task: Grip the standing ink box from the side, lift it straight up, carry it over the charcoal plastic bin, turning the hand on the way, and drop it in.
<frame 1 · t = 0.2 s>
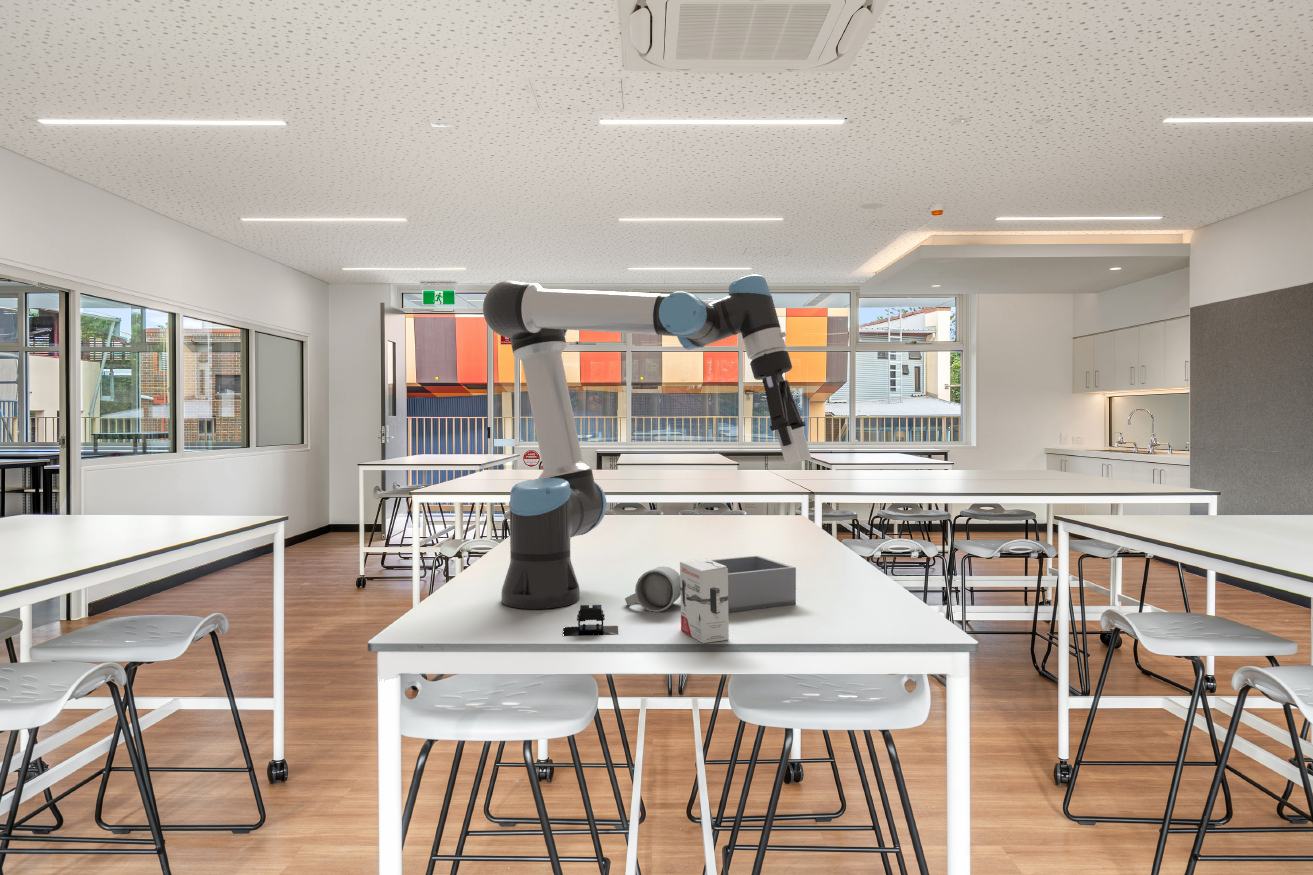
hand: (799, 461, 137), 27 cm above the table, tool tilted 15°, fingers open, 13 cm apart
ink box: (703, 636, 118), on the table
bin: (739, 600, 141), on the table
black angular piece: (590, 635, 121), on the table
ceramic mug: (653, 608, 137), on the table
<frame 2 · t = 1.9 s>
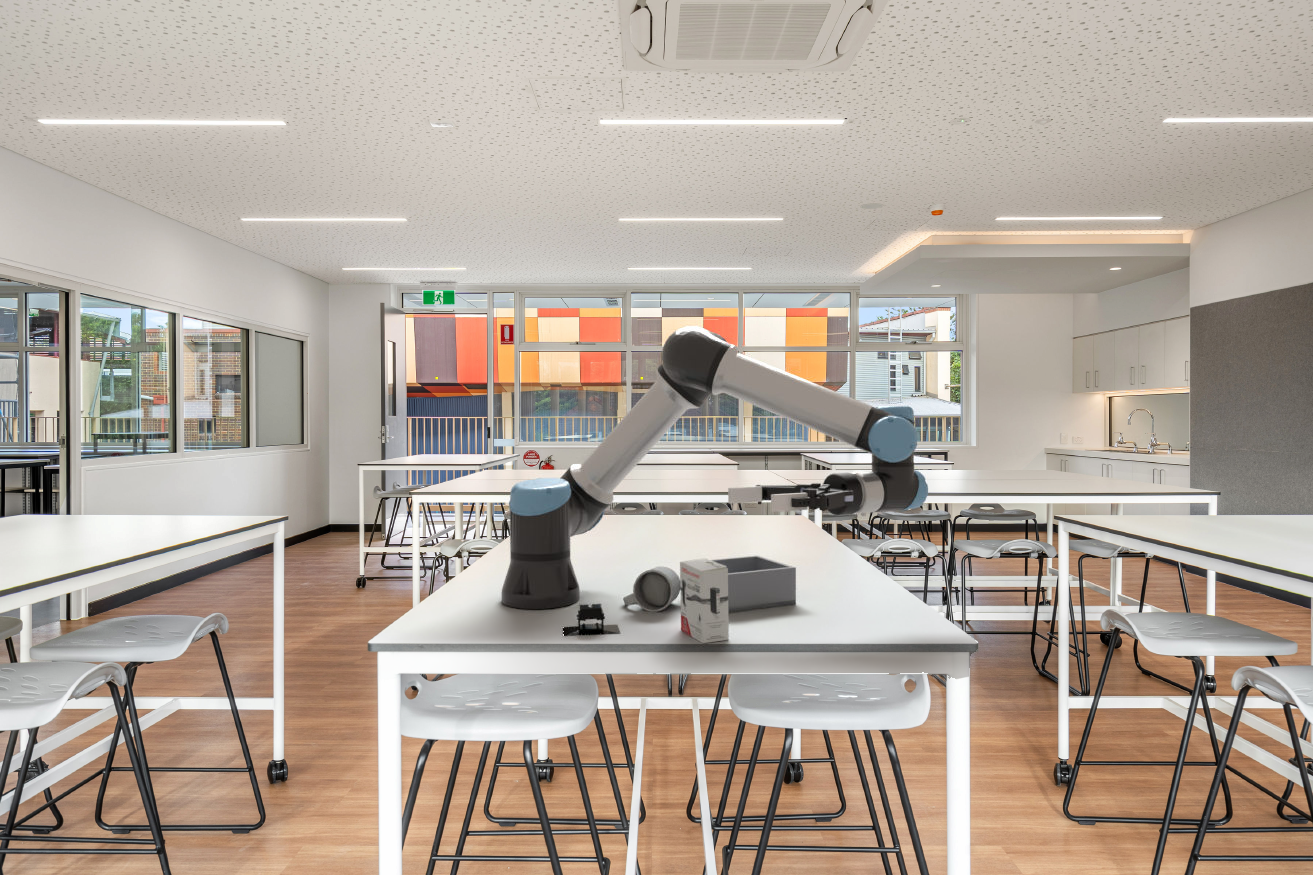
hand: (749, 499, 122), 22 cm above the table, tool horizontal, fingers open, 13 cm apart
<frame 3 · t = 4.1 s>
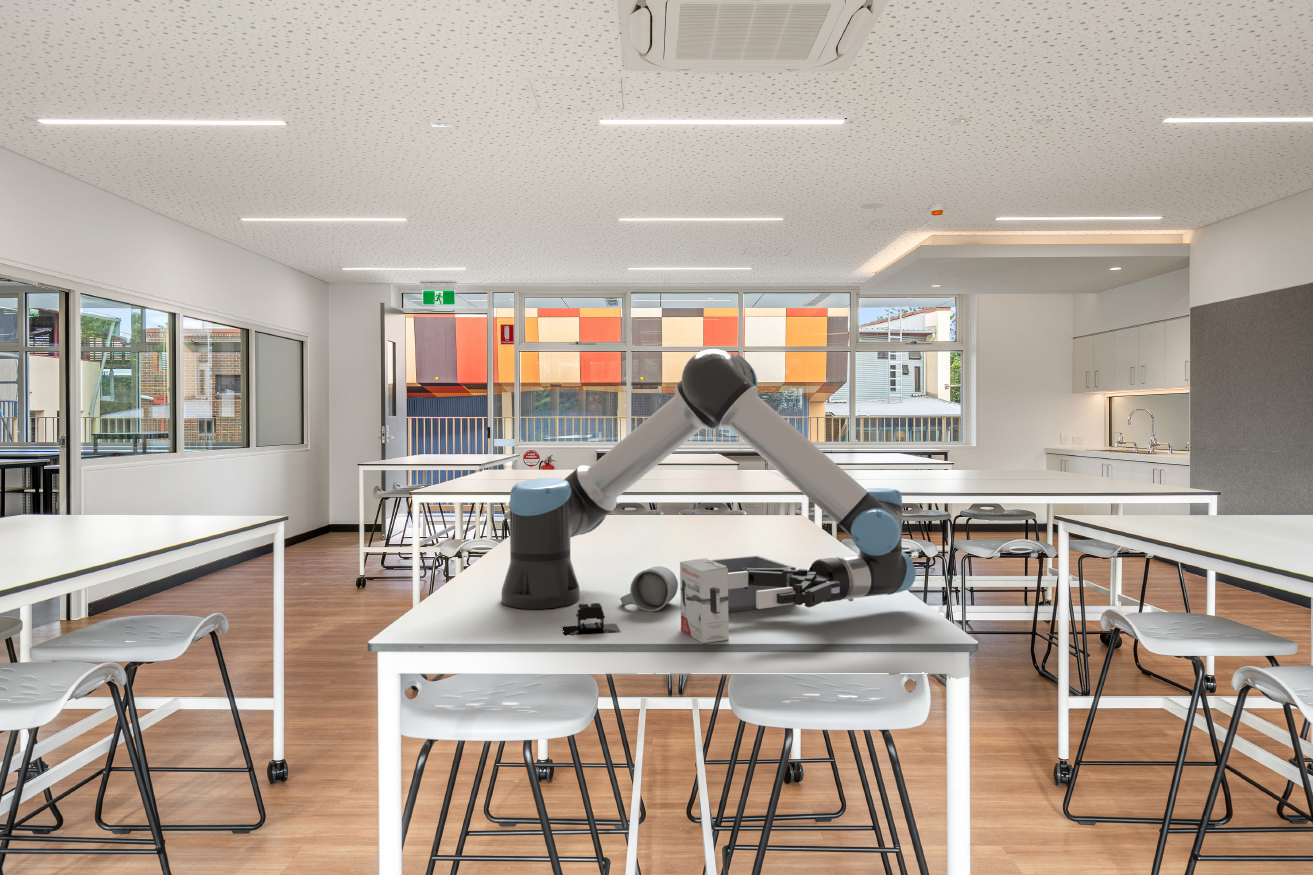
hand: (734, 590, 120), 7 cm above the table, tool horizontal, fingers open, 13 cm apart
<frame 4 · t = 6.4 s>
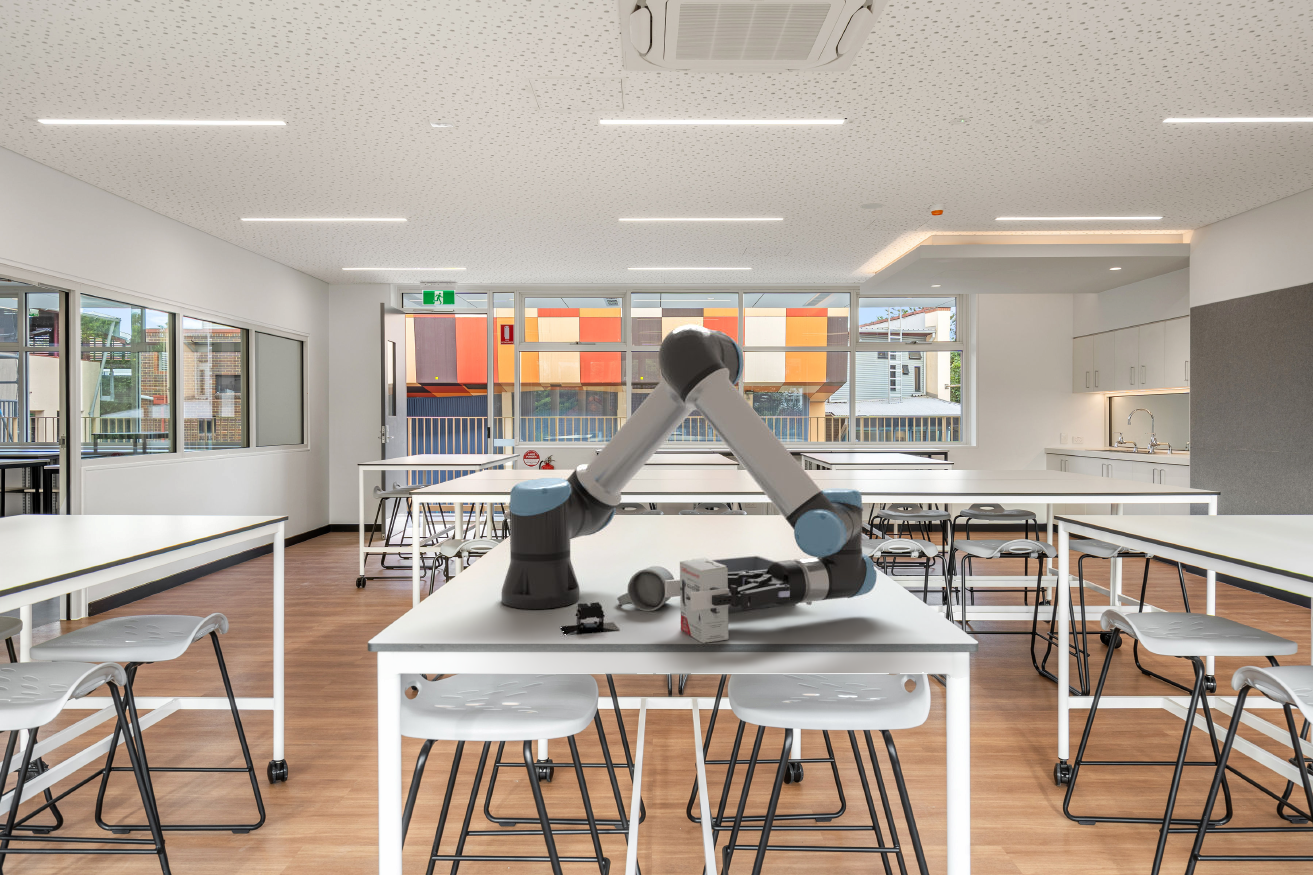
hand: (678, 594, 116), 7 cm above the table, tool horizontal, fingers closed on ink box, 9 cm apart
ink box: (703, 635, 119), on the table, touching gripper
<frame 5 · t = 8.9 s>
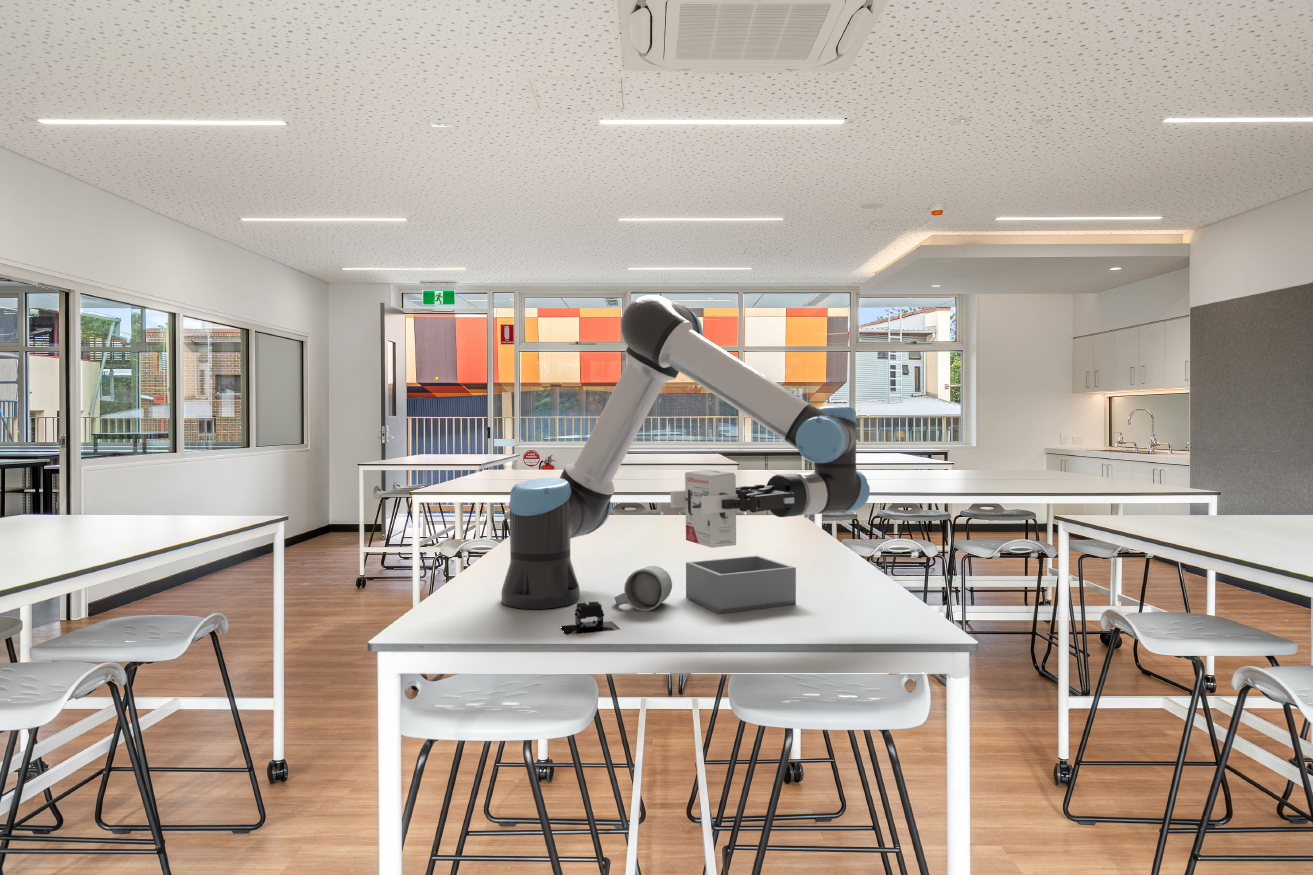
hand: (686, 502, 117), 22 cm above the table, tool horizontal, fingers closed on ink box, 9 cm apart
ink box: (710, 544, 120), point 15 cm above the table, touching gripper
when the fingers open (17 cm above the table, at t = 11.6 s): ink box drops 9 cm, resting on bin.
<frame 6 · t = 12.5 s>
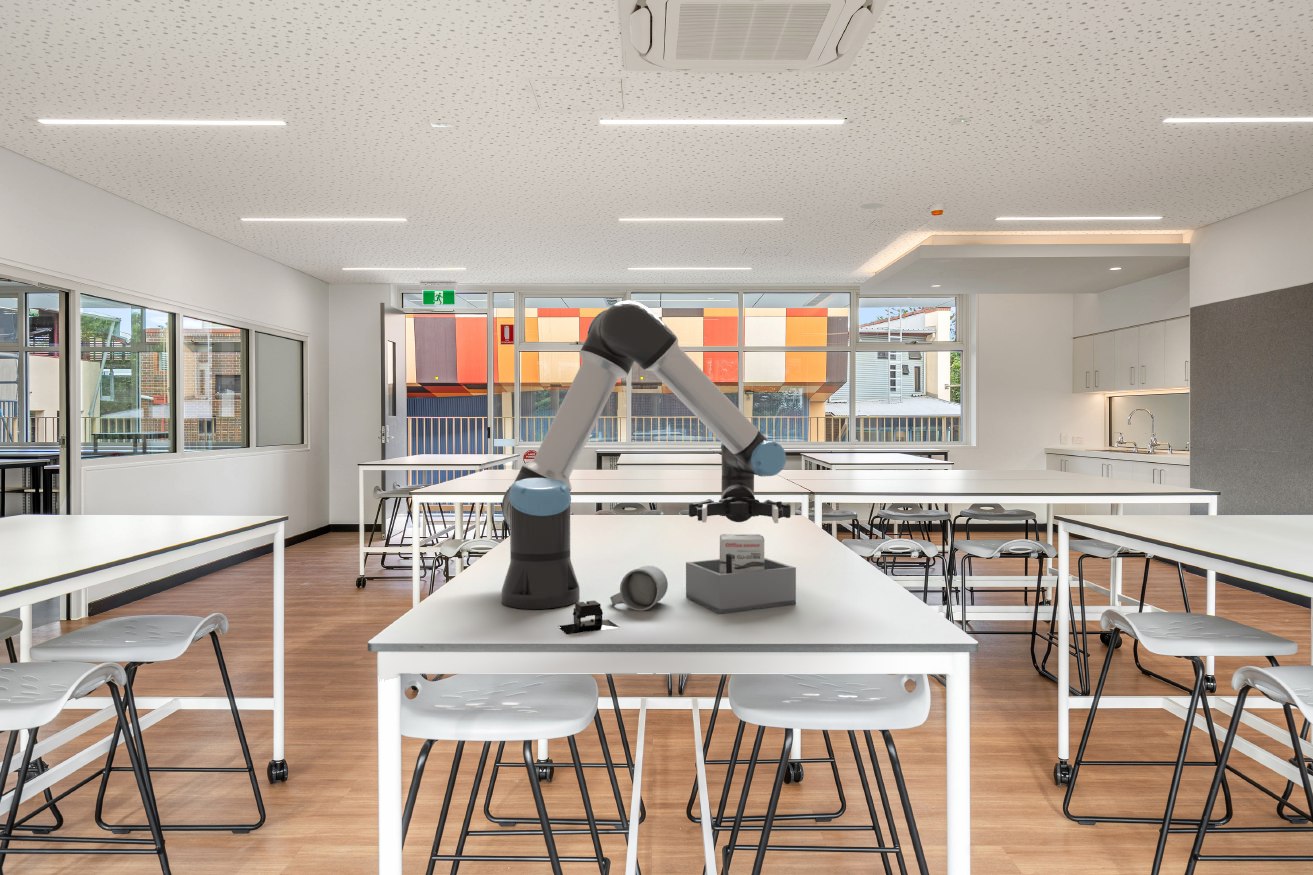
hand: (740, 515, 137), 17 cm above the table, tool horizontal, fingers open, 13 cm apart
ink box: (741, 597, 141), point 1 cm above the table, touching bin
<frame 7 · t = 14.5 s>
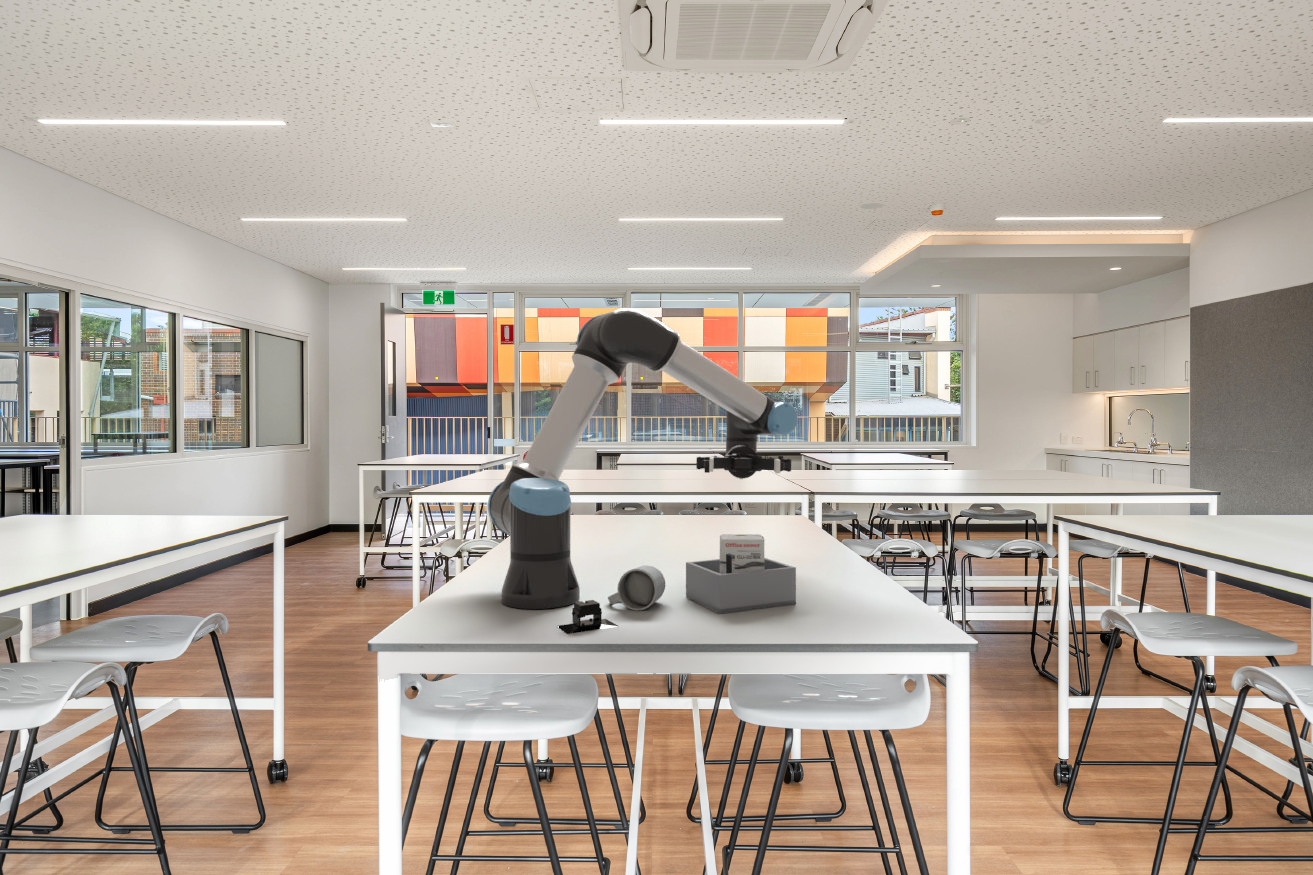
hand: (744, 465, 148), 26 cm above the table, tool horizontal, fingers open, 13 cm apart
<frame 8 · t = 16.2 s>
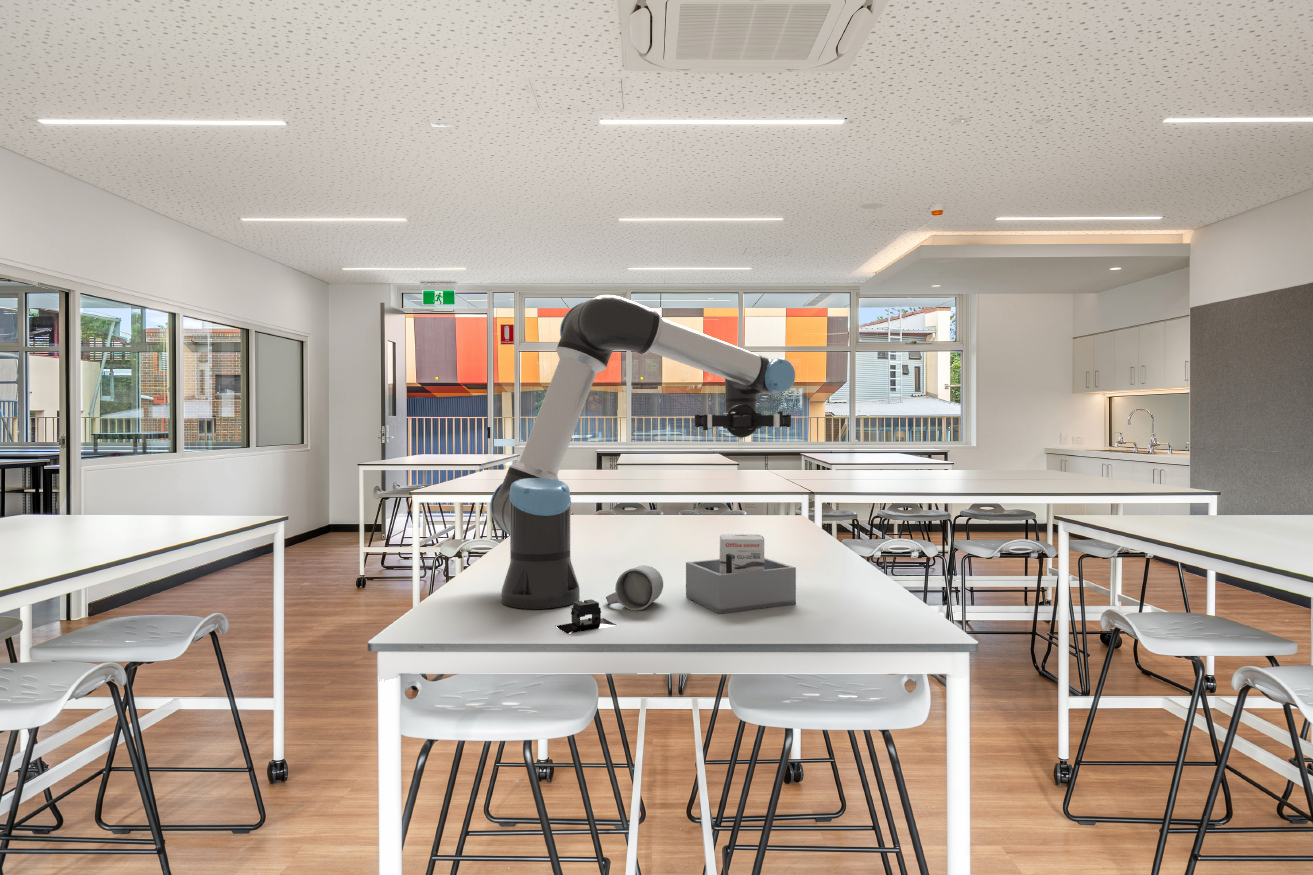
hand: (743, 420, 145), 35 cm above the table, tool horizontal, fingers open, 13 cm apart
at the end: ink box inside the target area on the bin (0.4 cm from its centre), point 0.6 cm above the bin's base; the gripper is holding nothing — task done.
